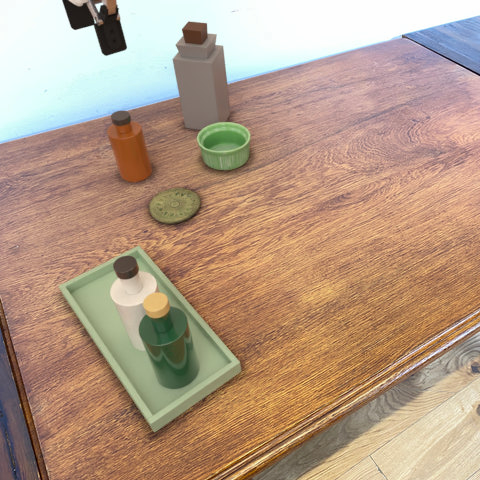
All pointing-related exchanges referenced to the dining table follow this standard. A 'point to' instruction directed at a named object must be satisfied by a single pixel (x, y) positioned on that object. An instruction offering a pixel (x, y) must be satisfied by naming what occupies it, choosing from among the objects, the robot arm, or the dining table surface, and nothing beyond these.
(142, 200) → the dining table surface
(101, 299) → the tray
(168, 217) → the medallion
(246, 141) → the ramekin
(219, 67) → the perfume bottle
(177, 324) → the green glass bottle
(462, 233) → the dining table surface
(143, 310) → the frosted bottle
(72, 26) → the robot arm
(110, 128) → the amber bottle
